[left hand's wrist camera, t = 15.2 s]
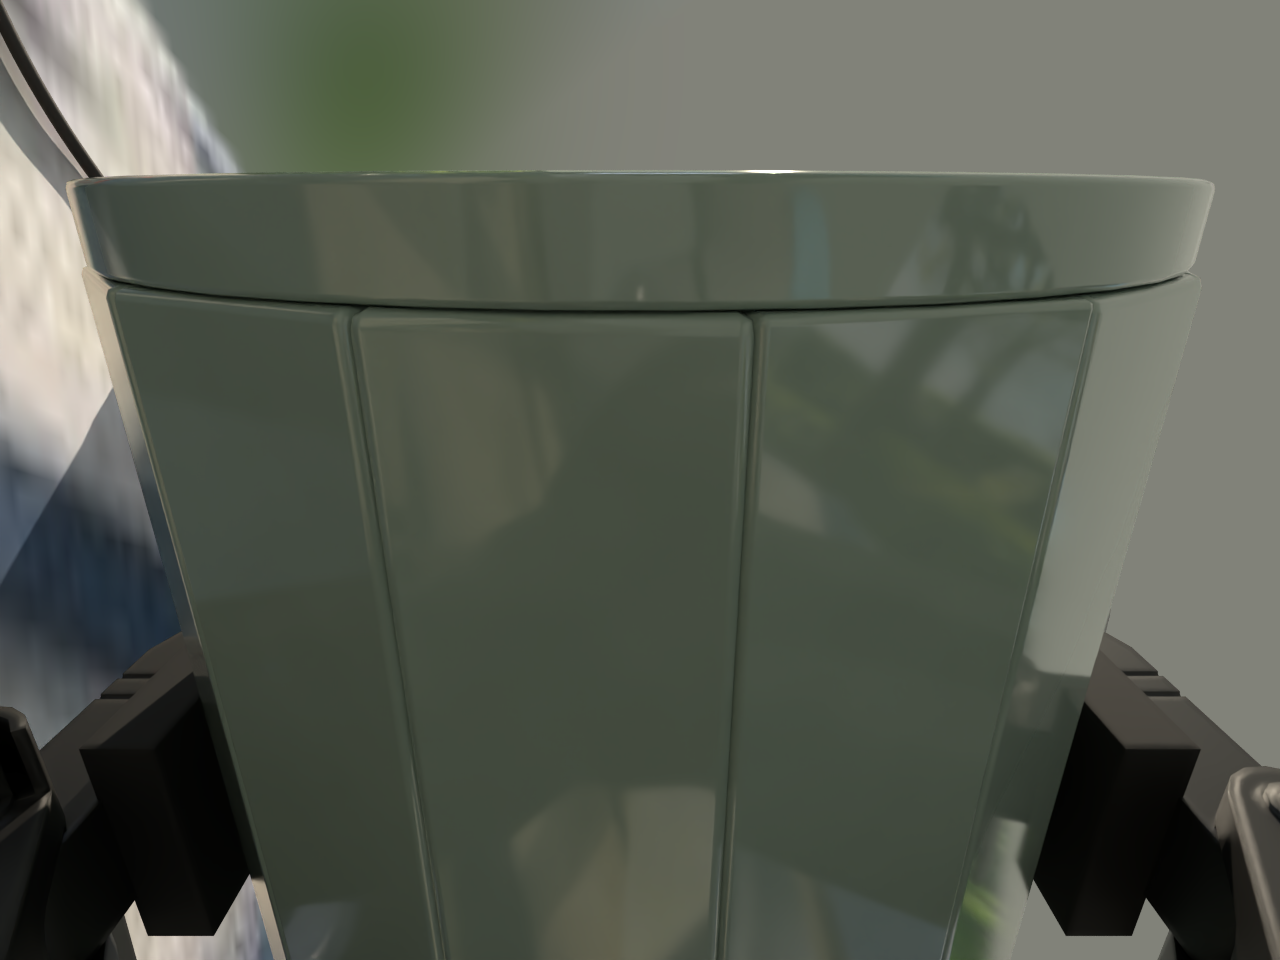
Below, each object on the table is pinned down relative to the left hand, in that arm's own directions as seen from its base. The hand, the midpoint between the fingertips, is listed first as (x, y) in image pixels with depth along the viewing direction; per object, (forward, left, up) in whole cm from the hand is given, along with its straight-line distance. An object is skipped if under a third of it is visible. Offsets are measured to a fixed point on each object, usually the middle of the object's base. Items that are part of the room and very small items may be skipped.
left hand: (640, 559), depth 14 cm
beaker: (-5, -6, +1) cm, 8 cm away
